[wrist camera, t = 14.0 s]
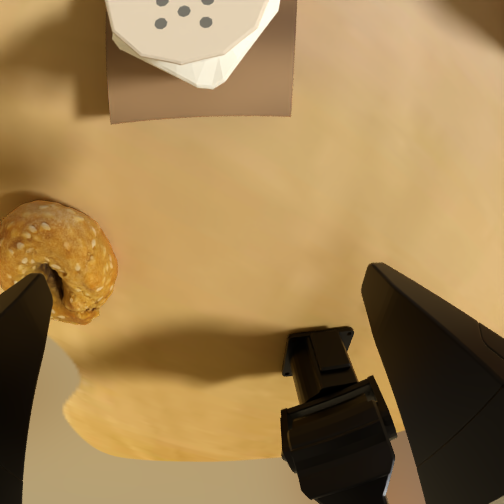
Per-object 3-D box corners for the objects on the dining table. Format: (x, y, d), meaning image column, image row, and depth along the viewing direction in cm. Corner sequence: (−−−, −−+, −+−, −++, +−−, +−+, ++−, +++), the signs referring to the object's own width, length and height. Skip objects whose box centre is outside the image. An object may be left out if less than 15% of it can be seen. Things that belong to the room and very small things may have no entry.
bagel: (19, 294, 23) (-1, 333, 19) (2, 180, 17) (-33, 212, 13) (119, 315, 26) (109, 360, 22) (125, 198, 20) (107, 237, 16)
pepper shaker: (212, 82, 14) (217, 120, 6) (141, 45, 12) (50, 40, 4) (260, 17, 12) (331, -28, 4) (188, -22, 10) (162, -112, 3)
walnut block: (278, 107, 18) (290, 116, 15) (124, 113, 16) (110, 124, 14) (284, -33, 12) (298, -47, 10) (123, -28, 11) (108, -40, 9)
